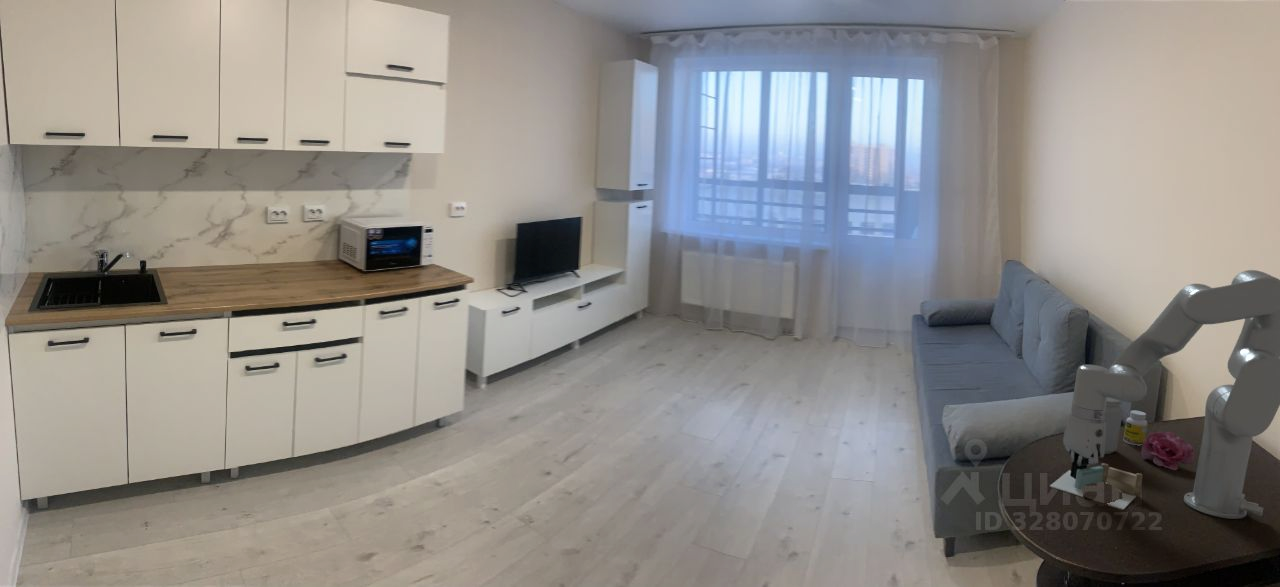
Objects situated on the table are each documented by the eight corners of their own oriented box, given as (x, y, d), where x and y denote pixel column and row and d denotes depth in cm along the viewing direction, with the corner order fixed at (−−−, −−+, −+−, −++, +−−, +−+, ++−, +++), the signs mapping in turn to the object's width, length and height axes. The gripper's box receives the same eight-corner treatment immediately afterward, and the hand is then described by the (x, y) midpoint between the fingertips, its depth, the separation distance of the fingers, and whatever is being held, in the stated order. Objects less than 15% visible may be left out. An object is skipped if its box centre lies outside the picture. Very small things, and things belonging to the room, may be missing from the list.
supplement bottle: (1119, 440, 232) (1123, 410, 230) (1130, 438, 234) (1135, 408, 232) (1136, 447, 227) (1141, 416, 225) (1148, 444, 229) (1153, 414, 228)
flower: (1178, 483, 211) (1165, 456, 208) (1146, 471, 220) (1133, 445, 218) (1206, 457, 213) (1193, 431, 210) (1172, 446, 222) (1159, 421, 219)
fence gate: (1096, 482, 200) (1099, 465, 199) (1101, 484, 199) (1104, 467, 198) (1073, 486, 197) (1075, 469, 196) (1078, 489, 196) (1080, 471, 195)
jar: (1070, 444, 228) (1079, 387, 225) (1094, 440, 232) (1102, 384, 228) (1100, 456, 219) (1109, 397, 216) (1124, 452, 223) (1133, 394, 219)
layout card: (1140, 492, 197) (1140, 490, 197) (1123, 510, 187) (1123, 508, 187) (1069, 471, 209) (1069, 469, 209) (1049, 486, 199) (1050, 485, 199)
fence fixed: (1139, 496, 195) (1143, 474, 193) (1138, 497, 194) (1141, 476, 192) (1099, 483, 201) (1102, 462, 200) (1097, 485, 200) (1100, 464, 199)
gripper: (1122, 422, 191) (1111, 489, 194) (1079, 402, 205) (1070, 465, 209) (1096, 423, 189) (1085, 490, 193) (1055, 402, 204) (1045, 466, 207)
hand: (1077, 477), depth 201 cm, fingers closed
